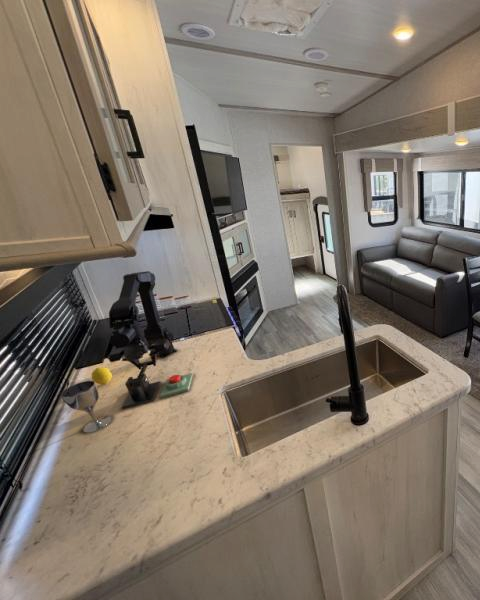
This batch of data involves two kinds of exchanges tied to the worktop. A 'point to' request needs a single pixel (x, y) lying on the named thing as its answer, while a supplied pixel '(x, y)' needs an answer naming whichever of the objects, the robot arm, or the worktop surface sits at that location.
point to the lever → (144, 365)
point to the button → (174, 379)
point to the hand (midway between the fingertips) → (148, 367)
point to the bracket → (140, 392)
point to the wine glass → (85, 403)
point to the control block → (176, 386)
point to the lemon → (101, 375)
